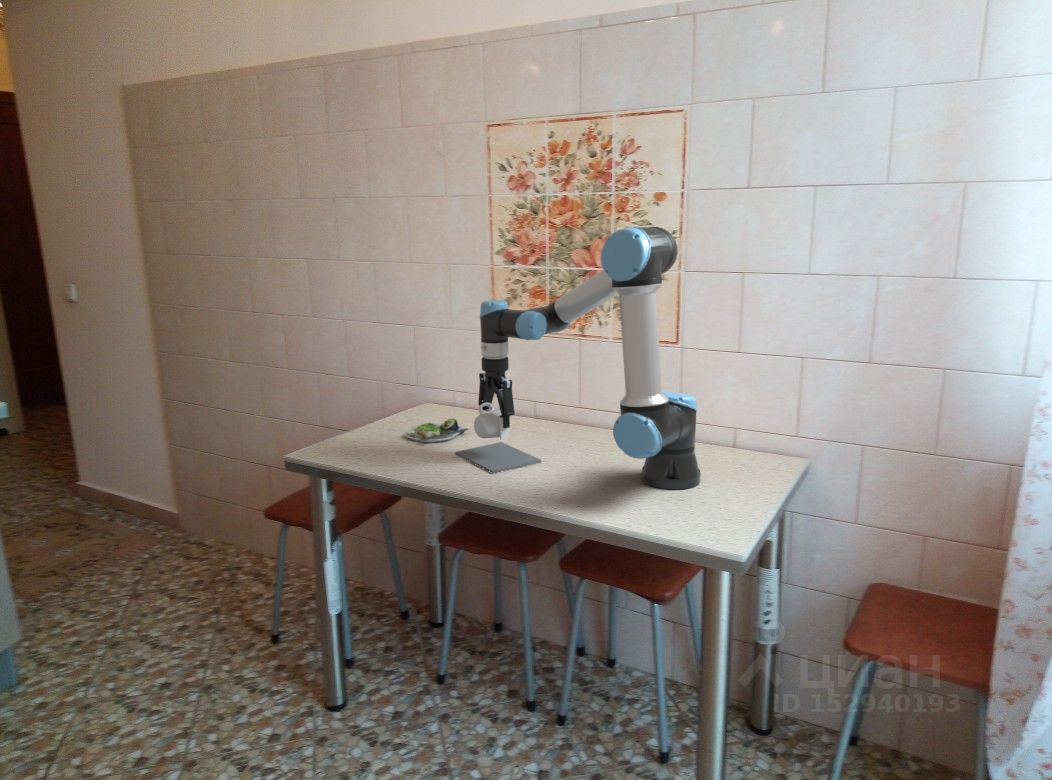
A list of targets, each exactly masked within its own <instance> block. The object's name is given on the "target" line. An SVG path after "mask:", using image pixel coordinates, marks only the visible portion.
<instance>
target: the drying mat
mask: <svg viewBox="0 0 1052 780" xmlns="http://www.w3.org/2000/svg"><path fill="white" fill-rule="evenodd" d="M454 454H456V456H457V455H458V456H457V457H459V456H460V457H459V458H461V457H462V458H461V459H463V458H464V459H463V460H465V459H466V460H465V461H467V460H468V461H467V462H469V461H470V462H469V463H471V462H472V463H471V464H473V463H474V464H473V465H475V464H476V465H475V466H477V465H478V466H480V467H481V468H480V467H479V468H480V469H482V468H484V469H485V470H484V469H483V470H484V471H486V470H487V471H486V472H488V471H490V472H492V473H495V474H498V473H497V472H500V473H502V472H501V471H504V472H506V471H505V470H508V471H510V470H509V469H512V470H515V468H516V469H519V467H520V468H524V467H528V466H527V465H529V466H533V465H536V463H537V464H540V463H542V459H541V458H538V457H536V456H534V455H532V454H529V453H527V452H526V451H525V452H524V451H523V450H520V449H517V448H516V447H514V446H511V445H509V444H507V443H504V442H502V441H500V442H494V443H490V444H486V445H481V446H476V447H471V448H467V449H463V450H458V451H454ZM532 464H533V465H532ZM478 466H477V467H478ZM523 466H524V467H523ZM490 472H489V473H490ZM492 473H491V474H492Z"/></svg>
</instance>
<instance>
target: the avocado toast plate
mask: <svg viewBox="0 0 1052 780" xmlns="http://www.w3.org/2000/svg"><path fill="white" fill-rule="evenodd" d="M468 430H469V428H463V427H462V426H461V425H459V423H458V421H457V419H456V418H449V419H446V420H444V422H442V423H434V422H432V423H431V422H427V423H426V422H425V423H422V424H419V425H417V426H416V427H414V428H411V429H410V430H408V431H406V432H405V433H404V435H405V437H406V438H407V439H408V440H410V441H413V442H416V441H417V442H418V443H424V442H425V444H427V443H428V444H429V443H430V444H432V443H431V442H434V443H443V442H448V440H449V441H451V440H453V439H454V437H455V438H456V436H457V437H458V435H459V436H460V435H462V434H463V433H465V432H467V431H468ZM417 434H420V435H422V437H423V438H420V437H415V436H416V435H417ZM442 441H443V442H442Z"/></svg>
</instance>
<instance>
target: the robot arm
mask: <svg viewBox="0 0 1052 780" xmlns="http://www.w3.org/2000/svg"><path fill="white" fill-rule="evenodd" d="M678 249H679V248H678V244H677V241H676V238H675V237H674V236H673V235H672V233H671V232H670V231H669V230H666V229H665V228H663V227H659V226H648V227H647V226H644V227H643V226H641V227H640V226H635V227H634V226H633V227H632V226H629V227H627V228H621V229H618V230H616V231H614V232H612V233H611V234H610V235H609V236H608V238H607V239H606V240H605V242H604V244H603V246H602V248H601V252H600V263H601V267H602V270H601V271H599V272H598V273H596V274H595V275H593V276H591V277H589V278H588V279H586V280H585V281H584V282H582V283H580V284H578V285H577V286H576V287H574V288H572V289H571V290H569V291H568V292H566V293H564V294H563V295H561V296H560V297H558V298H557V299H556V300H554V301H552V302H550V303H549V304H548V305H545V306H540V307H536V308H535V307H534V308H529V309H523V310H522V309H519V310H518V309H509V306H508V302H507V301H505V300H502V299H492V300H491V299H489V300H484V301H482V302H481V304H480V313H479V321H480V341H481V342H480V343H481V344H480V345H481V346H480V350H481V351H480V352H481V354H480V355H481V356H482V357H481V358H480V359H481V370H482V371H483V372H480V373H479V374H478V375H479V377H478V379H479V390H478V403H477V404H478V407H479V406H480V405H481V404H483V403H491V404H492V403H493V399H494V396H495V395H496V399H497V403H498V406H499V409H500V412H501V416H499V417H500V437H499V439H500V440H501V441H502V440H506V439H510V437H511V436H510V433H511V432H510V429H509V427H510V426H511V425H510V424H511V423H510V417H512V416H515V404H514V396H513V380H512V379H509V380H508V379H507V377H506V372H507V371H508V370H509V365H510V364H509V357H508V356H509V338H513V339H520V340H525V341H537V340H540V339H542V337H543V336H544V335H547V334H551V333H552V334H553V333H559V332H561V331H564V330H567V329H568V328H569V327H570V325H571V323H573V322H574V321H576V320H577V319H579V318H582V317H583V316H584V315H586V314H588V313H589V312H591V311H593V310H595V309H596V308H598V307H600V306H601V305H603V304H605V303H606V302H608V301H610V300H611V299H613V298H615V297H617V296H618V297H619V298H618V299H619V313H620V315H619V316H620V328H621V329H620V330H621V331H620V332H621V343H622V346H621V347H622V357H623V373H624V386H625V387H624V388H625V395H624V396H623V398H621V400H620V401H619V410H620V411H619V412H620V414H619V416H618V417H617V419H616V420H615V422H614V424H613V427H612V435H613V438H614V441H615V443H616V445H617V446H618V448H619V449H620V450H621V451H622V452H623V453H624V454H625V455H626V456H629V457H631V458H634V459H637V460H638V459H639V460H643V459H645V461H644V464H643V466H642V468H641V480H642V481H643V483H644V484H647V485H649V486H651V487H655V488H660V489H665V490H666V489H667V490H685V489H690V488H694V487H696V486H698V485H699V484H700V483H701V475H702V474H701V469H700V468H699V464H698V460H697V456H696V447H695V446H696V430H697V429H696V428H697V427H696V426H697V411H698V409H697V399H696V398H695V397H694V396H693V395H691V394H687V393H681V392H673V391H663V390H662V377H661V376H662V374H661V360H660V358H661V357H660V356H661V355H660V343H659V342H660V339H659V324H658V323H659V321H658V319H659V318H658V306H657V292H658V290H659V289H660V288H661V286H662V285H663V276H662V275H663V274H666V273H667V272H668V271H669V270H671V268H672V267H673V266H674V265H675V263H676V261H677V258H678V253H679V252H678V251H679V250H678ZM492 405H493V404H492ZM482 410H483V411H485V412H488V411H490V408H489V407H488V406H484V407H482ZM504 412H505V413H504ZM510 428H511V427H510Z"/></svg>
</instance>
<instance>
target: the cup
mask: <svg viewBox="0 0 1052 780" xmlns="http://www.w3.org/2000/svg"><path fill="white" fill-rule="evenodd" d="M484 406H488V407H489V409H490V411H488V412H485V411H483V409H482V407H484ZM478 413H479V415H477V416H476V417H475V418H474V422H473V427H474V432H475V434H476V435H477V437H479V438H481V439H492V438H493V439H494V438H500V417H499V416H501V412H500V408H498V409H496V408H495V407H494V405H493V404H491V403H483V404H481V405H480V406H479V405H478ZM504 413H505V412H504ZM510 428H511V427H509V430H510Z"/></svg>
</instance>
